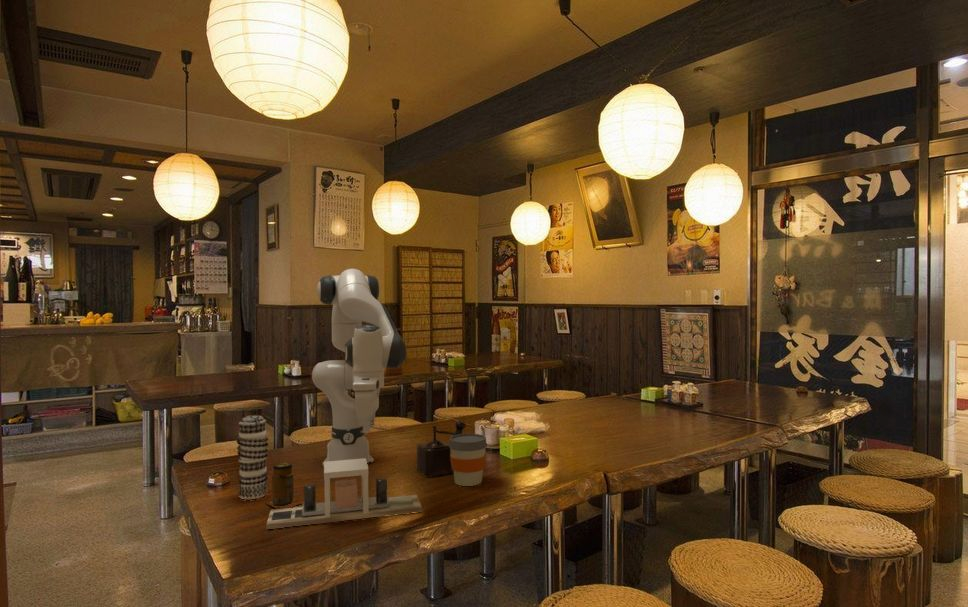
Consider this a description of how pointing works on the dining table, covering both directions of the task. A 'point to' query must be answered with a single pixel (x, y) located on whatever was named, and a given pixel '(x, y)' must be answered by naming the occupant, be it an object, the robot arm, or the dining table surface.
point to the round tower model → (252, 457)
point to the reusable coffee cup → (468, 458)
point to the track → (341, 513)
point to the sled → (345, 498)
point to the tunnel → (345, 470)
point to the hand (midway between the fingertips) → (368, 429)
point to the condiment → (282, 484)
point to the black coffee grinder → (436, 454)
